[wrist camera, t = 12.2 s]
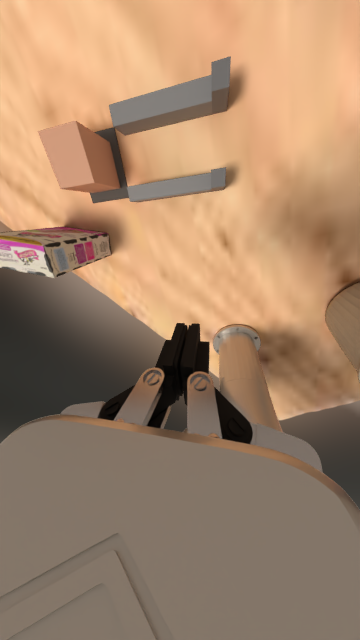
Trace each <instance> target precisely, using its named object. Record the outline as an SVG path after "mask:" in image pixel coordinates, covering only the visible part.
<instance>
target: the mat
mask: <svg viewBox="0 0 360 640" xmlns="http://www.w3.org/2000/svg"><path fill="white" fill-rule="evenodd" d="M94 133H96V134H97V135H99V136H101V137H102V138H104V139H105V140H107V141H109V142H110V146H111V150H112V154H113V158H114V163H115V167H116V171H117V175H118V179H119V184H120V189H114V190H108V191H102V192H96V193H90V195H91V198H92V201H93V203H97V202H104V201H110V200H117V199H123V198H129V194H128V190H127V183H126V179H125V174H124V170H123V165H122V161H121V156H120V152H119V147H118V143H117V138H116V133H115V129H114V128H110V129H106V130H102V131H98V132H94Z"/></svg>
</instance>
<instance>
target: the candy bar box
mask: <svg viewBox="0 0 360 640" xmlns="http://www.w3.org/2000/svg"><path fill="white" fill-rule="evenodd" d="M110 255H111V249H110V242H109V234H108V233H104V232H96V231H89V230H82V229H76V228H69V227H55V228H45V229H34V230H23V231H11V232H0V268H5V269H11V270H16V271H21V272H26V273H31V274H37V275H42V276H47V277H53V278H55V277H58V276H60V275H63V274H65V273H68V272H70V271H72V270H75V269H78V268H80V267H82V266H85V265H87V264H90V263H92V262H95V261H97V260H100V259H103V258H105V257H107V256H110Z"/></svg>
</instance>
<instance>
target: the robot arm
mask: <svg viewBox="0 0 360 640" xmlns="http://www.w3.org/2000/svg"><path fill="white" fill-rule="evenodd" d="M213 346H214V349H215V351H216V352H217V353H218V354H219V380H220V381H219V382H220V392H219V391H218V390H217V389H216V388H215V387H214V384H213V380H212V378H211V376H210V375H209V342H200V324H192V325H189V328H187V325H185V324H184V323H177V324H176V327H175V330H174V333H173V336H172V339H171V340H166V341H165V343H164V346H163V348H162V351H161V353H160V356H159V359H158V361H157V364H156V366H155V368H150V369H148V370H146V371H145V372H144V373H143V374H142V376H141V377H140V379H139V380H138V382H137V384H136V385H134V386H132V387H131V388H129V389H127V390H126V391H124V392H122V393H120V394H119V395H117V396H115V397H114V398H112V399H110V400H109V401H108V402H106V403H104V402H103V401H102V402H93V403H85V404H76V405H71V406H69V407H67V408H66V409H65V410H64V411H63V412H62V413H61V414H60V415H51V416H46V417H42V418H39V419H36V420H33V421H31V422H28V423H26V424H24V425H22V426H21V427H19V428H18V429H16V430H15V431H14V432H13V433H12V434H11V435H9V436H8V437H7V438H6V439H5V440H4V441H3V442H2V443H1V444H0V640H360V510H359V508H358V507H357V506H356V504H355V503H354V501H352V499H351V498H350V497H349V495H348V494H347V493H346V492H345V491H344V490H343V489H342V488H341V487H340V486H339V485H338V484H336V483H335V482H334V481H333V480H332V479H330V478H329V477H327V476H326V475H325V474H323V472H322V467H321V462H320V459H319V456H318V454H317V453H316V451H315V450H314V449H313V448H312V447H311V446H310V445H309V444H308V443H307V442H305V441H303V440H301V439H299V438H296V437H294V436H291V435H288V434H286V433H283V431H282V429H281V426H280V424H279V421H278V419H277V416H276V413H275V410H274V407H273V404H272V400H271V397H270V394H269V391H268V387H267V384H266V380H265V377H264V373H263V370H262V366H261V363H260V360H259V356H258V353H257V352H258V350H259V348H260V346H261V341H260V337H259V335H258V334H257V332H256V331H255V330H253V329H252V328H250V327H247V326H244V325H231V326H227V327H224V328H222V329H221V330H219V331H218V332H217V333H216V335H215V337H214V340H213ZM183 393H184V399H185V404H186V405H187V411H188V412H187V414H188V415H187V420H188V423H187V426H188V428H186V429H185V430H184V431H183V432H178V431H172V430H166V429H163V428H164V425H165V423H166V420H167V418H168V415H169V412H170V410H171V405H172V404H173V403H175V401H176V400H179V396H182V394H183Z"/></svg>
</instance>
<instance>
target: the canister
mask: <svg viewBox="0 0 360 640" xmlns="http://www.w3.org/2000/svg"><path fill="white" fill-rule="evenodd" d="M325 317H326V318H325V320H326V324H327V326H328V328H329V330H330V332H331V333H332V335H333V336H334V338H335V340H336V341H337V343H338V344H339V346H340V347H341V349H342V350H343V352H344V353H345V355H346V356H347V358H348V359H349V361H350V362H351V364H352V365H353V367H354V368H355V369H356V371H357V372H358V380H359V383H360V282H359V283H356V284H354V285H352V286H350V287H348V288H347V289H345V290H343V291H342V292H341V293H339V294H338V295H337V296H336V297H334V299H333V300H332V301H331V302H330V304H329V305H328V308H327V310H326V314H325Z"/></svg>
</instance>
